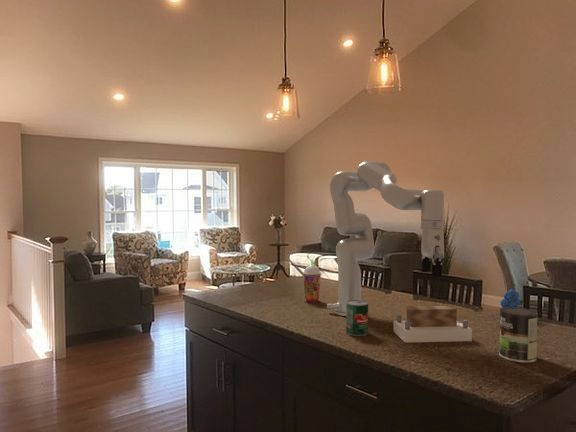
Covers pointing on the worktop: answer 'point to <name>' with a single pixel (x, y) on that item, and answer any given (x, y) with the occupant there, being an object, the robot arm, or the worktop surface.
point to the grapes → (510, 299)
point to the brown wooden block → (432, 316)
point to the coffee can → (518, 334)
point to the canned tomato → (357, 317)
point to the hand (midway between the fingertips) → (431, 274)
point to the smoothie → (312, 282)
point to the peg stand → (432, 332)
